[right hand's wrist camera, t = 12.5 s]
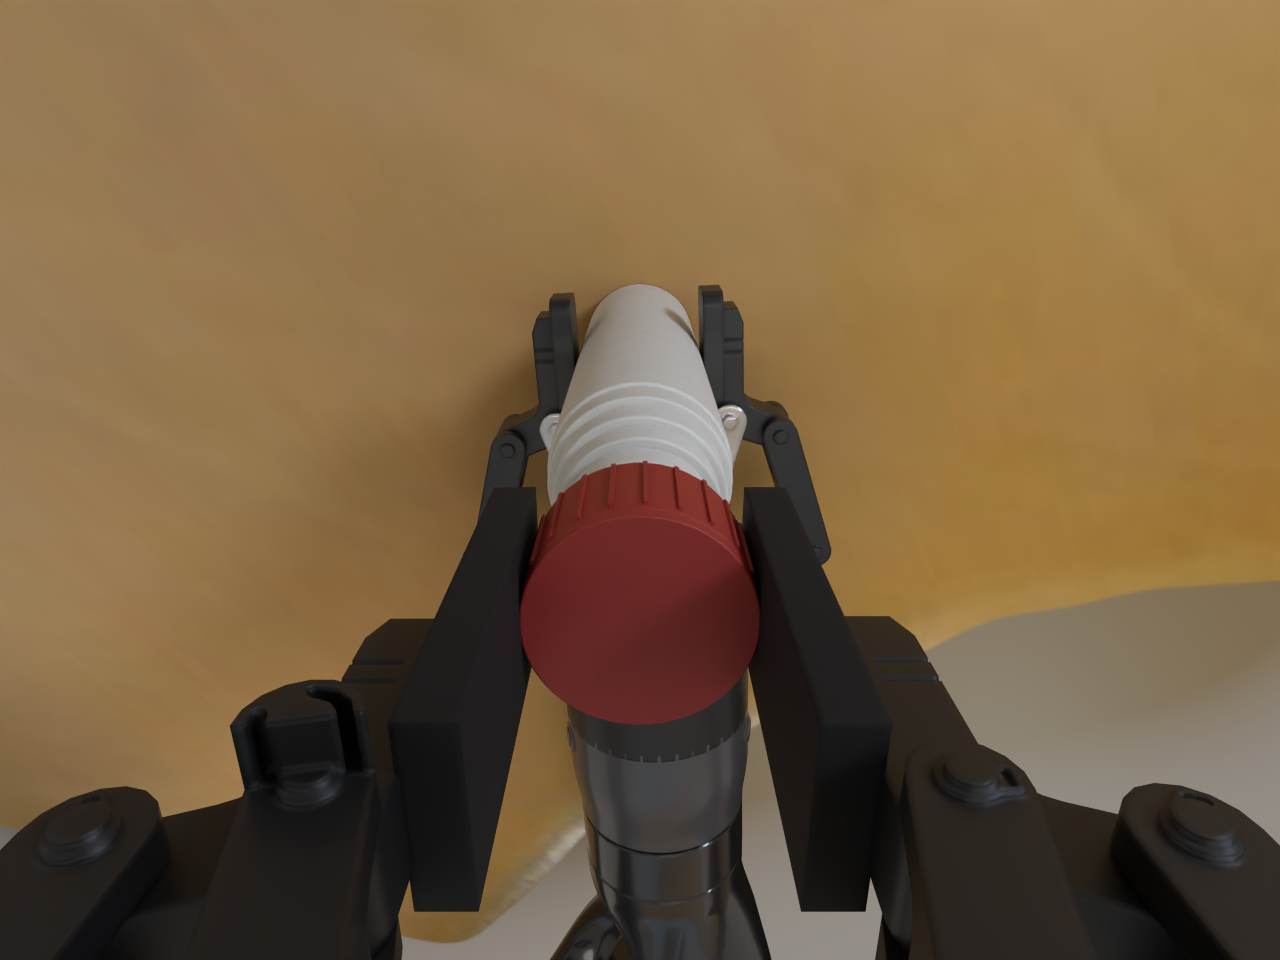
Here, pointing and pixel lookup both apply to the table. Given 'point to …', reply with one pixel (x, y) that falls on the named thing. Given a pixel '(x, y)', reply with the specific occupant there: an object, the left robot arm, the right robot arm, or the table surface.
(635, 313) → the bottle
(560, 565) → the cap
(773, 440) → the left robot arm
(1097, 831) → the right robot arm
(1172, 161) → the table surface
